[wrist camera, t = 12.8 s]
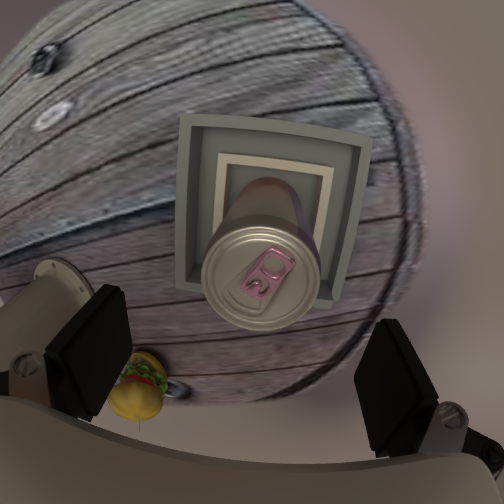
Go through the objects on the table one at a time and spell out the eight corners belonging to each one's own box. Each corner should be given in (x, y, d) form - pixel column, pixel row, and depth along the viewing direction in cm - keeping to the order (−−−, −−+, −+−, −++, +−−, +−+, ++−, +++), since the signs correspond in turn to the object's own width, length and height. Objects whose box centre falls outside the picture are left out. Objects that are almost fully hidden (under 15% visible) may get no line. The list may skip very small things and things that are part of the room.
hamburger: (132, 336, 36) (94, 397, 25) (179, 354, 37) (152, 422, 26) (131, 369, 40) (101, 426, 28) (173, 385, 40) (150, 446, 29)
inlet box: (332, 285, 31) (341, 310, 26) (189, 266, 31) (175, 289, 27) (361, 137, 24) (379, 138, 20) (197, 117, 25) (180, 113, 20)
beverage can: (312, 201, 26) (350, 272, 12) (275, 248, 28) (272, 351, 15) (261, 163, 25) (243, 193, 12) (225, 213, 27) (175, 292, 14)
